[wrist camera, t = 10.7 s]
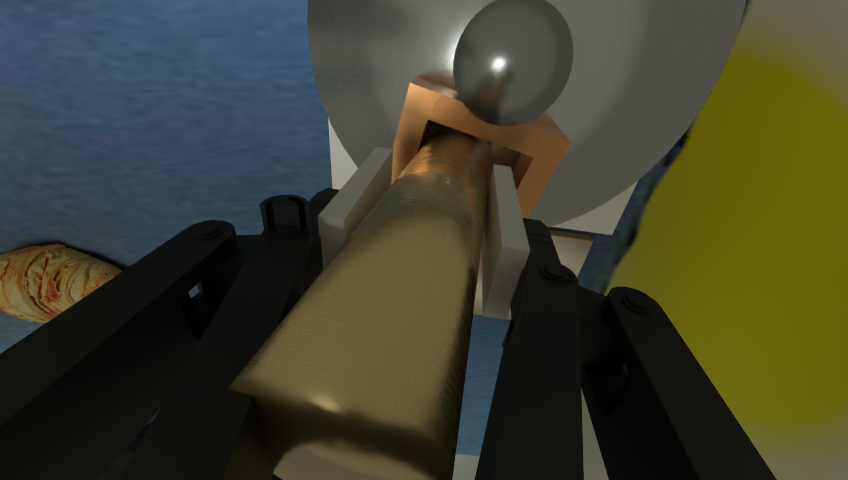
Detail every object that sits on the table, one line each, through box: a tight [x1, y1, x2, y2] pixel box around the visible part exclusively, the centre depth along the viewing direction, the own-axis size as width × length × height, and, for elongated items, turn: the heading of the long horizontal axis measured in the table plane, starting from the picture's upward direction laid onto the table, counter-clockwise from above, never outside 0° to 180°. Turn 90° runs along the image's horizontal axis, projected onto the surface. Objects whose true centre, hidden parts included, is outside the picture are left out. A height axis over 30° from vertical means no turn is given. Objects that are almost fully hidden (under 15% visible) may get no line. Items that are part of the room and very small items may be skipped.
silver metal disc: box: [308, 0, 746, 261], centre depth 16 cm, size 20×20×6 cm
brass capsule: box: [228, 126, 492, 480], centre depth 12 cm, size 4×4×16 cm
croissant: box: [0, 244, 122, 323], centre depth 39 cm, size 21×10×8 cm, turn 91°
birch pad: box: [473, 230, 593, 320], centre depth 33 cm, size 11×11×1 cm
